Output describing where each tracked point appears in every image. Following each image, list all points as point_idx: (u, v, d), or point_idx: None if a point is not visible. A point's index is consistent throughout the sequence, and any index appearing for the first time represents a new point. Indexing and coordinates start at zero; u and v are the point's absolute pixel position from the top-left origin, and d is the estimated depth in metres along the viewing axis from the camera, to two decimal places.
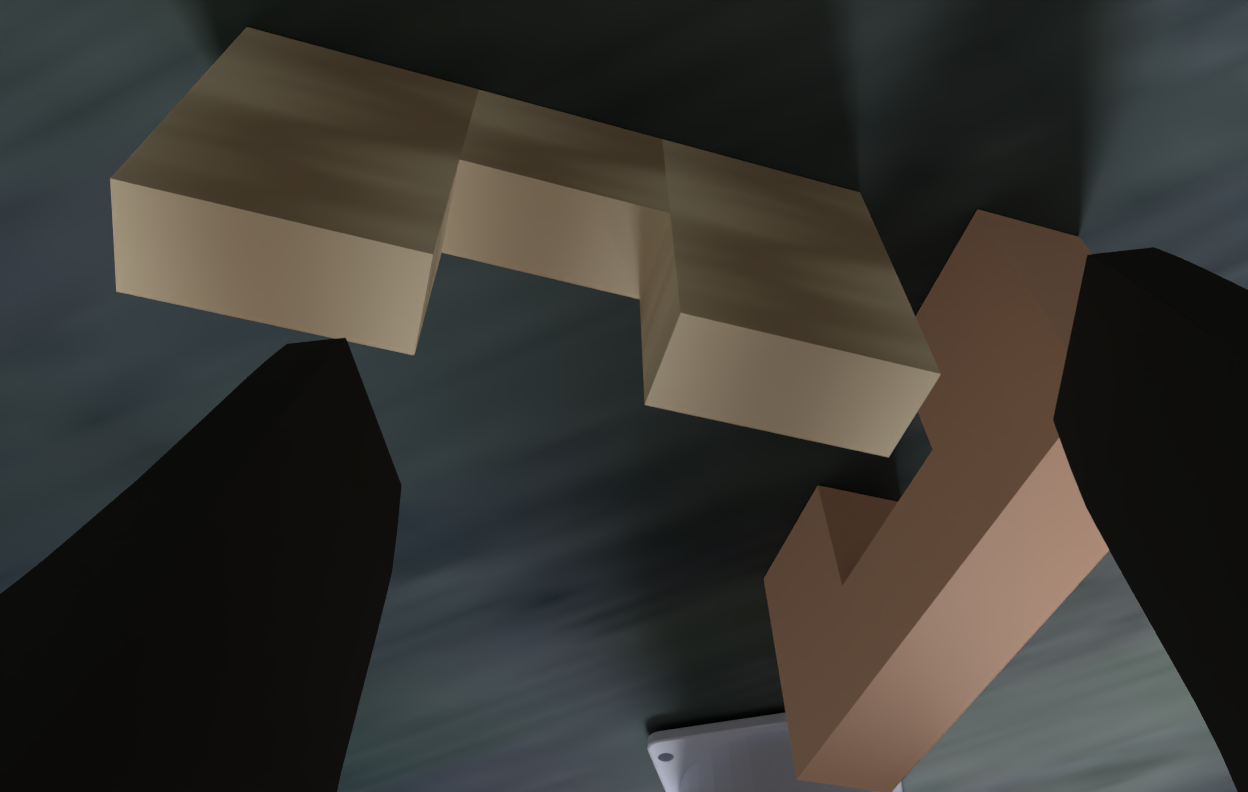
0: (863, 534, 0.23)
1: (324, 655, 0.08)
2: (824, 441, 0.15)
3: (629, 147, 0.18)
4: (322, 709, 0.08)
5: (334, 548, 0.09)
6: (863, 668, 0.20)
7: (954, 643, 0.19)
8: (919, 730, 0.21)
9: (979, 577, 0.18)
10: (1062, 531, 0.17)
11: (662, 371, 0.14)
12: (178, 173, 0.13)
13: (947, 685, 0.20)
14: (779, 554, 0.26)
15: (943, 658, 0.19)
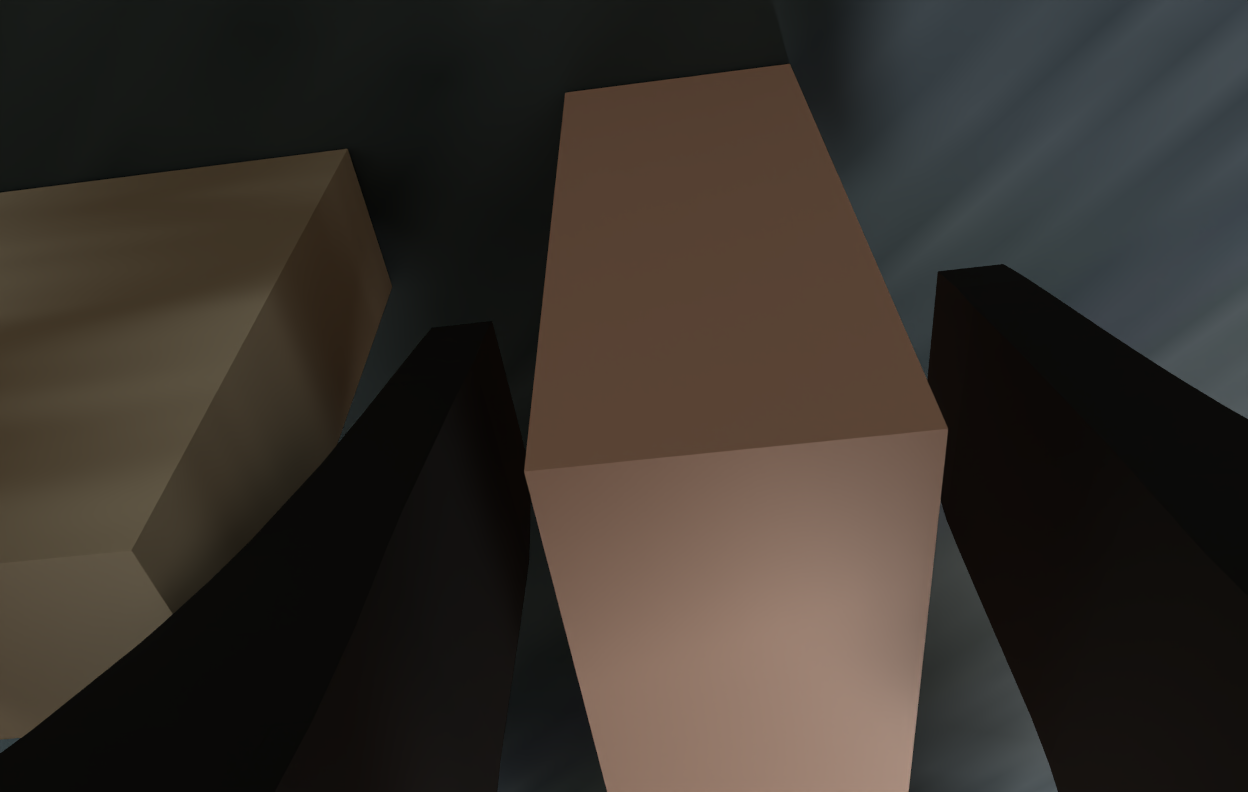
0: None
1: (487, 641, 0.08)
2: None
3: None
4: (487, 695, 0.08)
5: (492, 533, 0.08)
6: None
7: None
8: None
9: None
10: (768, 738, 0.07)
11: None
12: None
13: None
14: None
15: None
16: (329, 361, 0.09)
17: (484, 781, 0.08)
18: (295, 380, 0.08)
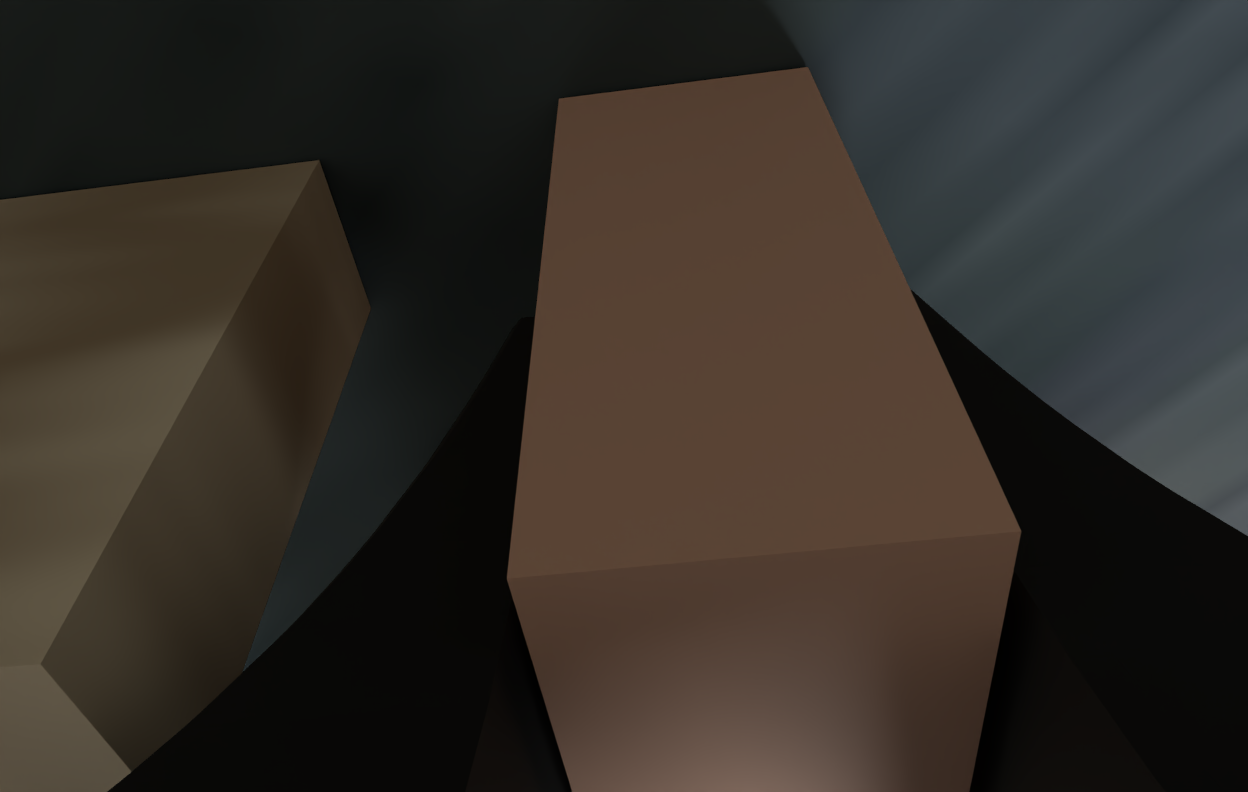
0: None
1: None
2: None
3: None
4: None
5: None
6: None
7: None
8: None
9: None
10: None
11: None
12: None
13: None
14: None
15: None
16: (296, 401, 0.08)
17: None
18: (255, 428, 0.08)
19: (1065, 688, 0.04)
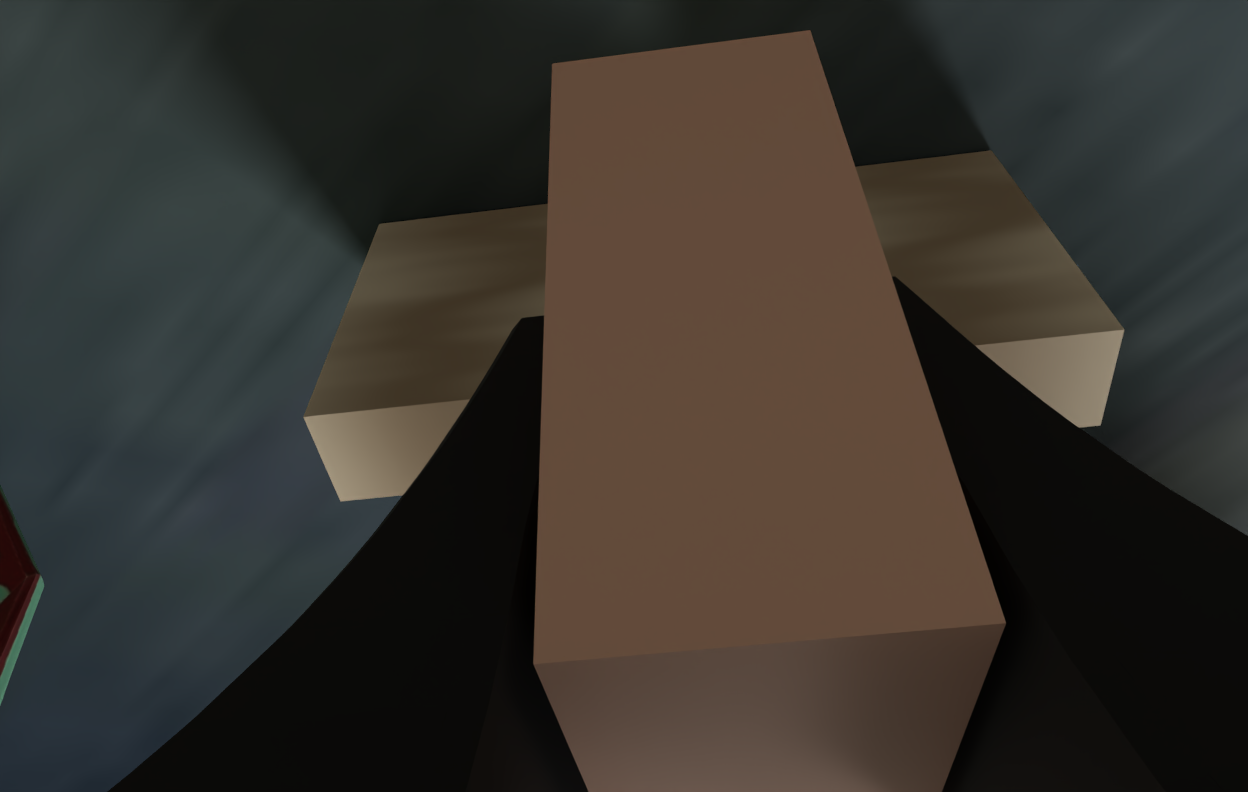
0: None
1: None
2: None
3: None
4: None
5: None
6: None
7: None
8: None
9: None
10: None
11: None
12: (353, 390, 0.15)
13: None
14: None
15: None
16: None
17: None
18: None
19: (1067, 688, 0.04)
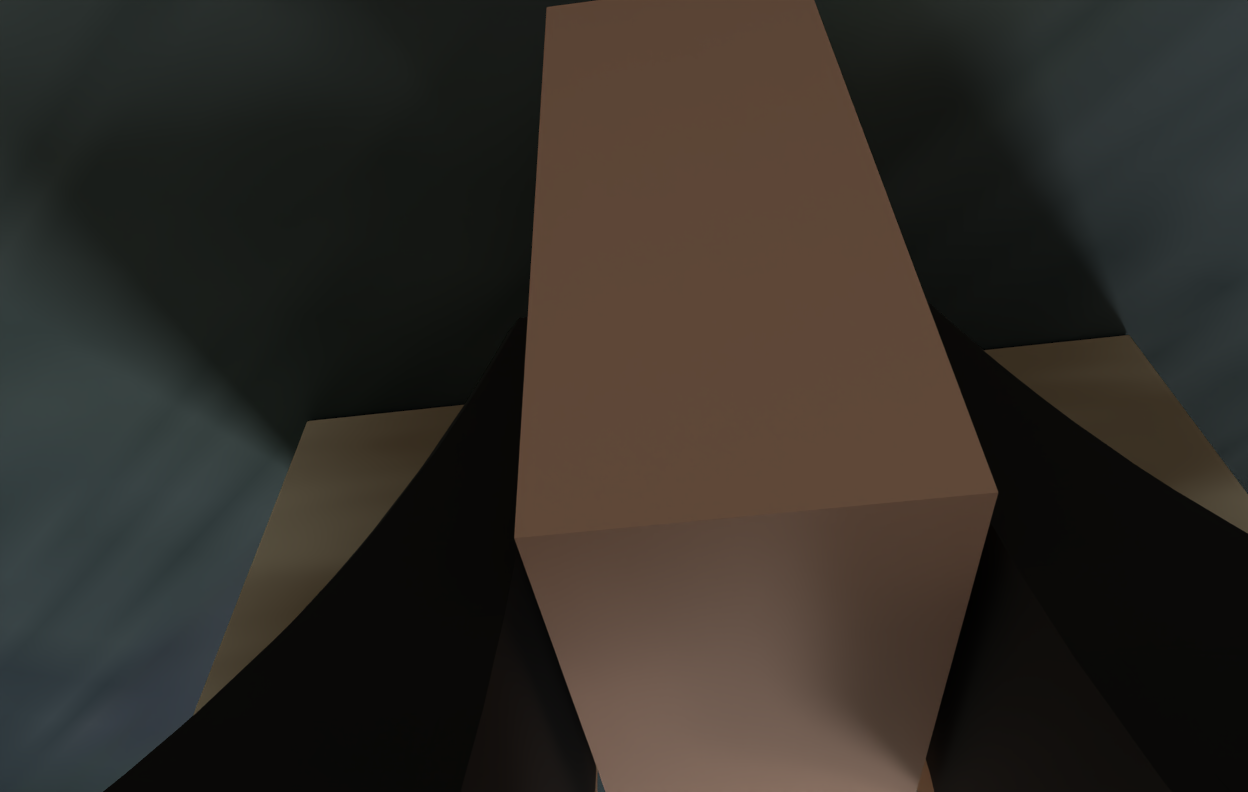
0: None
1: None
2: None
3: None
4: None
5: None
6: None
7: None
8: None
9: None
10: (776, 751, 0.07)
11: None
12: None
13: None
14: None
15: None
16: None
17: (587, 773, 0.08)
18: None
19: (1069, 688, 0.04)
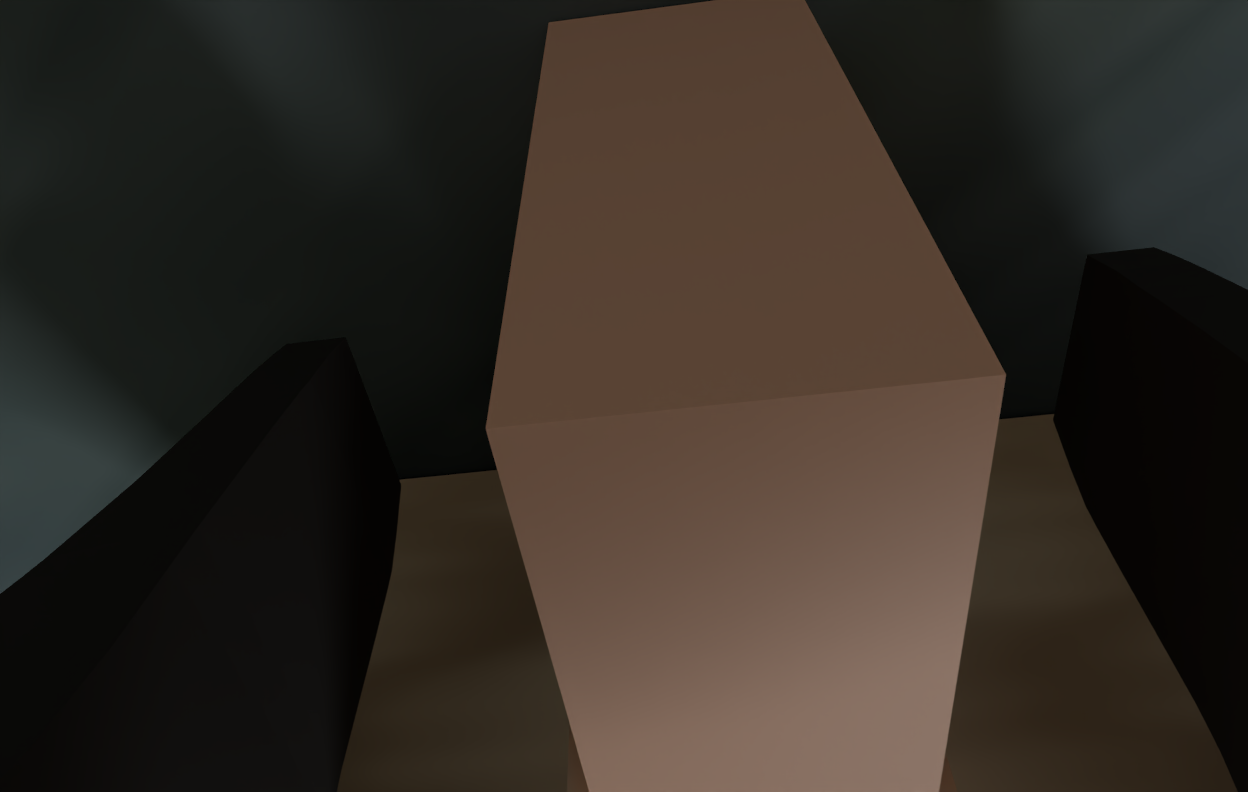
0: None
1: (324, 655, 0.08)
2: None
3: None
4: (322, 709, 0.08)
5: (334, 548, 0.09)
6: None
7: None
8: None
9: None
10: (778, 745, 0.06)
11: None
12: None
13: None
14: None
15: None
16: None
17: None
18: None
19: None
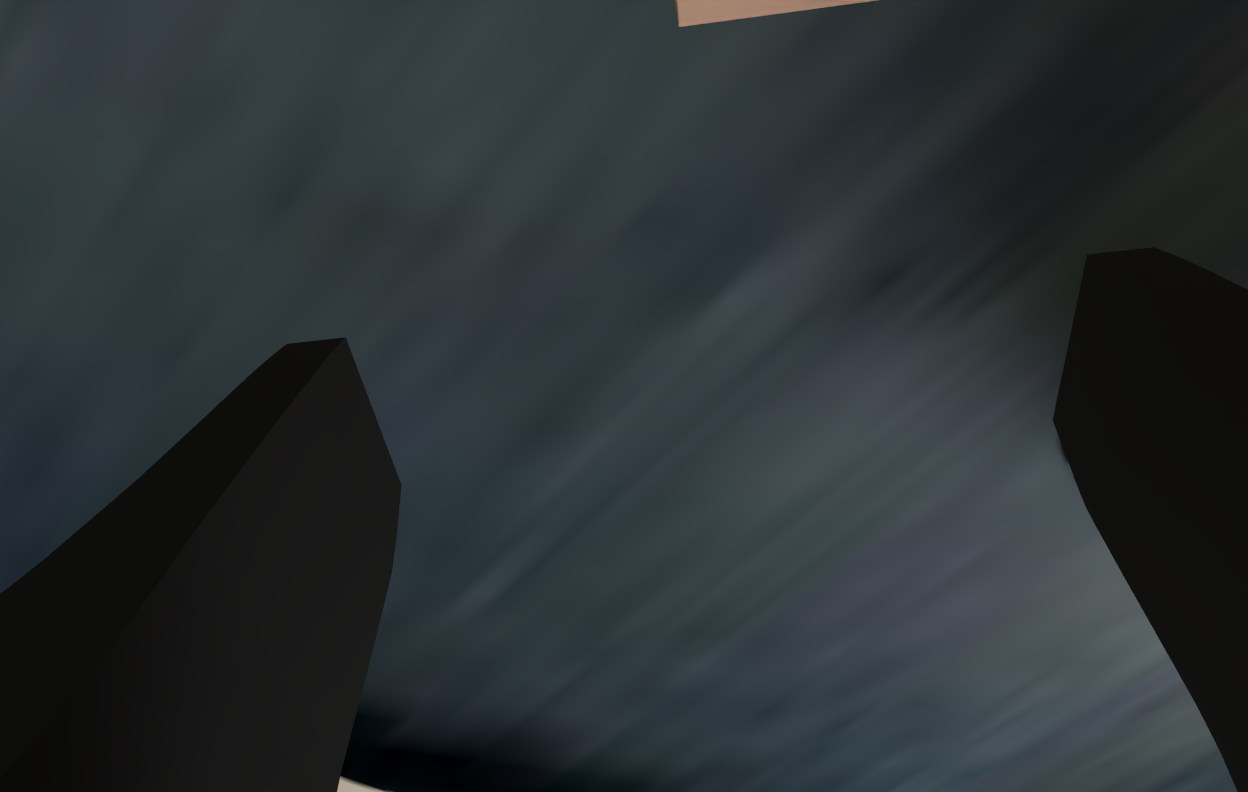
0: None
1: (324, 655, 0.08)
2: None
3: None
4: (322, 709, 0.08)
5: (334, 548, 0.09)
6: None
7: None
8: None
9: None
10: None
11: None
12: None
13: None
14: None
15: None
16: None
17: None
18: None
19: None
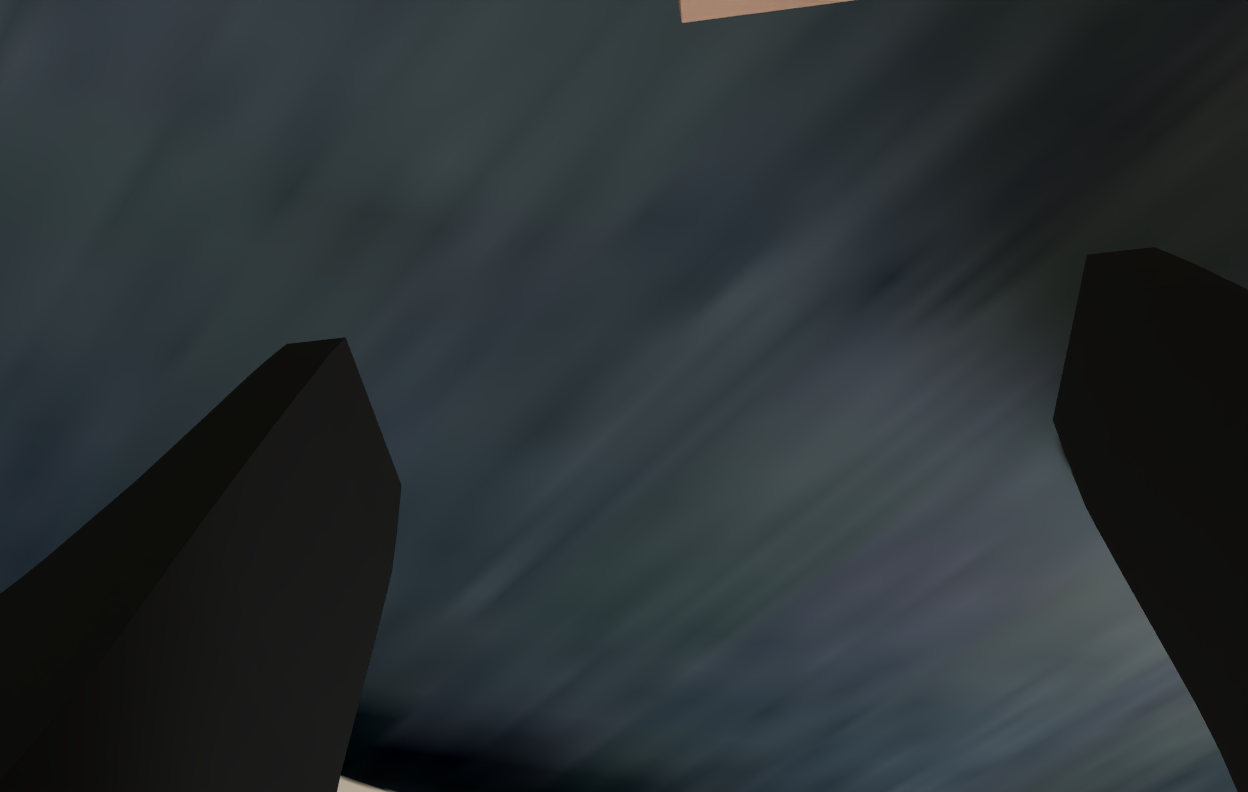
0: None
1: (324, 655, 0.08)
2: None
3: None
4: (322, 709, 0.08)
5: (334, 548, 0.09)
6: None
7: None
8: None
9: None
10: None
11: None
12: None
13: None
14: None
15: None
16: None
17: None
18: None
19: None
